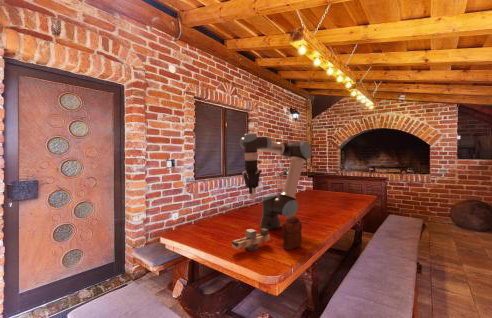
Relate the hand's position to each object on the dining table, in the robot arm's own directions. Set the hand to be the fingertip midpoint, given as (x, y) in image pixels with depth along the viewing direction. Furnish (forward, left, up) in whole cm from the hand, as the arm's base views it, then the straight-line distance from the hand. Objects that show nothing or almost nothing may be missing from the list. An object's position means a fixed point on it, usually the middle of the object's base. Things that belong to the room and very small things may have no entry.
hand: (252, 198), depth 152 cm
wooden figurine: (+19, +14, -27) cm, 36 cm away
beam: (+7, -6, -27) cm, 28 cm away
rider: (+7, -6, -22) cm, 23 cm away
